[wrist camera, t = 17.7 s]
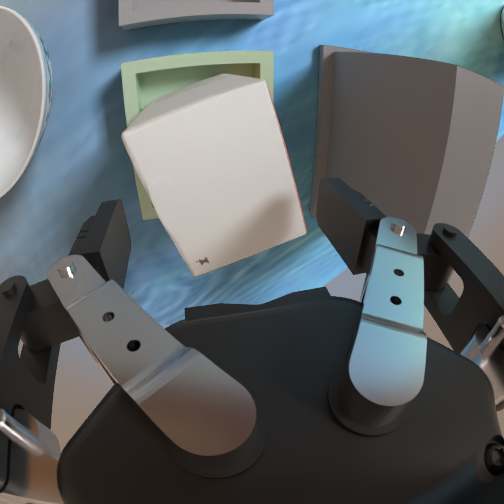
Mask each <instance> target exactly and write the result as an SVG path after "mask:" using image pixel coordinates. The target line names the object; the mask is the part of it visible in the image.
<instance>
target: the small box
mask: <svg viewBox="0 0 504 504" xmlns="http://www.w3.org/2000/svg"><path fill="white" fill-rule="evenodd" d="M121 138H122V141H123V143H124V146H125V148H126V150H127V152H128V155H129V157H130V159H131V161H132V163H133V165H134V167H135V170H136V172H137V174H138V176H139V178H140V180H141V182H142V184H143V186H144V188H145V190H146V192H147V194H148V196H149V198H150V200H151V202H152V204H153V207H154V209H155V211H156V213H157V215H158V217H159V219H160V221H161V222H162V224H163V226H164V228H165V230H166V231H167V233H168V234H169V235H170V237H171V239H172V240H173V242H174V244H175V245H176V247H177V249H178V250H179V252H180V254H181V256H182V257H183V259H184V261H185V262H186V264H187V266H188V268H189V269H190V271H191V273H192V274H193V276H194V277H197V276H199V275H202V274H204V273H207V272H210V271H212V270H215V269H218V268H221V267H223V266H226V265H229V264H231V263H234V262H236V261H239V260H242V259H244V258H247V257H249V256H252V255H255V254H257V253H259V252H262V251H265V250H267V249H269V248H272V247H275V246H277V245H280V244H282V243H285V242H287V241H290V240H292V239H295V238H297V237H300V236H303V235H305V234H306V233H307V228H306V224H305V219H304V215H303V211H302V207H301V202H300V198H299V194H298V190H297V187H296V183H295V179H294V175H293V171H292V167H291V164H290V160H289V156H288V152H287V148H286V145H285V141H284V138H283V135H282V131H281V127H280V124H279V121H278V117H277V114H276V110H275V107H274V104H273V101H272V97H271V94H270V91H269V88H268V85H267V81H265V80H263V79H258V78H251V77H246V76H239V75H233V74H225V73H222V74H218V75H216V76H213V77H210V78H207V79H204V80H201V81H199V82H196V83H193V84H191V85H188V86H185V87H183V88H180V89H178V90H175V91H173V92H170V93H168V94H166V95H163V96H161V97H158V98H156V99H154V100H152V101H150V103H149V104H148V105H147V106H146V107H145V108H144V109H143V110H142V111H141V113H140V114H139V115H138V116H137V117H136V118H135V119H134V121H133V122H132V123H131V124H130V125H129V126H128V127H127V129H126V130H125V131H124V132H123V133H122V136H121Z"/></svg>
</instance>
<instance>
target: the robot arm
mask: <svg viewBox="0 0 504 504" xmlns="http://www.w3.org/2000/svg"><path fill="white" fill-rule="evenodd" d="M501 24H502V31H503V36H504V8H503V10H502V15H501ZM316 217H317V223H318V225H319V227H320V228H321V230H322V231H323V233H324V234H325V235H326V237H327V238H328V239H329V241H330V242H331V244H332V245H333V246H334V248H335V249H336V251H337V252H338V253H339V255H340V256H341V258H342V259H343V261H344V262H345V263H346V265H347V266H348V268H349V269H350V270H351V272H352V274H353V275H355V274H361V273H366V274H367V275H366V278H365V281H364V285H363V290H362V293H361V297H360V301H359V302H358V301H356V300H352V299H348V298H343V297H336V296H330V294H329V292H328V290H327V288H326V287H321V288H315V289H310V290H304V291H298V292H293V293H290V294H288V295H285V296H282V297H280V298H277V299H275V300H272V301H269V302H267V303H264V304H260V305H247V304H223V303H220V304H213V305H205V306H198V307H190V308H185V319H184V320H181V321H179V322H176V323H174V324H172V325H170V326H169V327H167V328H165V329H164V328H163V327H162V326H161V325H160V324H159V323H157V322H156V321H155V320H154V319H153V318H152V317H151V316H150V315H149V314H148V313H147V312H146V311H145V310H144V309H143V308H141V307H140V306H139V305H138V304H137V303H136V302H135V301H134V300H133V299H132V298H131V297H130V296H129V295H128V294H127V293H126V292H125V291H124V290H123V288H124V282H125V277H126V271H127V266H128V260H129V255H130V250H131V239H130V234H129V230H128V225H127V221H126V217H125V213H124V209H123V205H122V202H121V200H120V199H118V200H112V201H106V202H102V203H101V205H100V207H99V209H98V211H97V214H96V216H91V217H90V218H89V219H88V220H87V221H86V222H85V223H84V224H83V225H82V228H81V230H80V233H79V234H78V236H77V239H76V240H75V242H74V245H73V247H72V249H71V251H70V253H69V256H66V257H64V258H62V259H60V260H58V261H57V262H55V263H54V264H53V265H52V266H51V268H50V269H49V271H48V275H47V276H48V279H47V280H44V281H42V282H39V283H37V284H34V285H31V286H29V284H28V282H27V280H26V278H25V277H23V276H13V277H11V278H9V279H7V280H5V281H4V282H3V283H2V284H1V285H0V500H3V501H5V502H8V503H10V504H504V439H503V436H502V433H501V430H500V427H499V423H498V418H497V412H496V411H500V410H502V409H504V276H503V275H502V273H501V272H500V271H499V270H498V269H497V268H496V267H495V266H494V265H493V263H492V262H491V261H490V260H489V259H488V258H487V257H486V256H485V255H484V254H483V253H482V252H481V251H480V250H479V249H478V248H477V247H476V246H475V245H474V244H473V243H472V242H471V241H470V240H469V239H468V238H467V237H466V236H465V235H464V234H463V233H462V232H461V231H460V230H458V229H457V228H455V227H453V226H451V225H449V224H445V223H437V224H435V225H434V226H433V229H432V233H431V235H429V234H421V233H417V231H416V228H415V227H414V226H413V225H412V224H411V223H409V222H408V221H406V220H404V219H401V218H397V217H386V216H385V215H384V214H383V213H382V212H381V211H380V210H379V209H378V208H377V207H376V206H375V205H373V203H371V202H370V201H369V200H368V199H367V198H366V197H365V196H364V195H363V194H362V193H360V192H358V191H356V190H354V189H352V188H351V187H349V186H348V185H347V184H346V183H345V182H344V181H343V180H342V179H340V178H322V179H321V181H320V183H319V192H318V202H317V211H316ZM453 269H454V270H455V271H456V273H457V274H458V275H459V276H460V277H461V279H462V280H463V284H464V290H463V293H462V295H461V297H460V298H459V297H458V296H457V295H456V293H455V292H454V291H453V289H452V288H451V287H450V285H449V284H448V283H447V282H448V280H449V278H450V275H451V273H452V271H453ZM424 305H425V306H426V308H427V309H428V311H429V312H430V314H431V315H432V317H433V319H434V320H435V321H436V323H437V325H438V326H439V328H440V329H441V331H442V332H443V334H444V336H445V337H446V338H447V340H448V341H449V343H450V345H451V347H452V348H453V350H454V351H453V350H451V349H449V348H447V347H445V346H444V345H442V344H440V343H438V342H436V341H434V340H432V339H430V338H428V337H427V336H426V333H424V332H423V314H424ZM78 336H79V337H80V338H81V340H82V341H83V343H84V345H85V346H86V347H87V349H88V351H89V352H90V353H91V355H92V356H93V358H94V359H95V361H96V362H97V363H98V365H99V366H100V367H101V369H102V370H103V371H104V373H105V374H106V376H107V377H108V378H109V380H110V381H111V383H112V384H113V385H114V386H113V387H112V388H111V389H110V391H109V392H108V393H107V394H106V395H105V397H104V398H103V399H102V400H101V402H100V403H99V404H98V405H97V407H96V408H95V409H94V410H93V411H92V413H91V414H90V415H89V416H88V418H87V419H86V420H85V421H84V423H83V424H82V425H81V427H80V428H79V429H78V430H77V432H76V433H75V434H74V435H73V437H72V438H71V439H70V440H69V442H68V443H67V444H66V446H65V447H64V449H63V451H62V453H61V451H60V445H59V441H58V439H57V437H56V435H55V434H54V433H53V432H52V431H51V430H50V429H51V413H52V402H53V392H54V384H55V376H56V369H57V362H58V356H59V350H60V343H62V342H64V341H67V340H70V339H73V338H76V337H78ZM20 339H21V340H22V342H23V347H22V351H21V355H20V358H19V355H18V344H19V341H20Z"/></svg>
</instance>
